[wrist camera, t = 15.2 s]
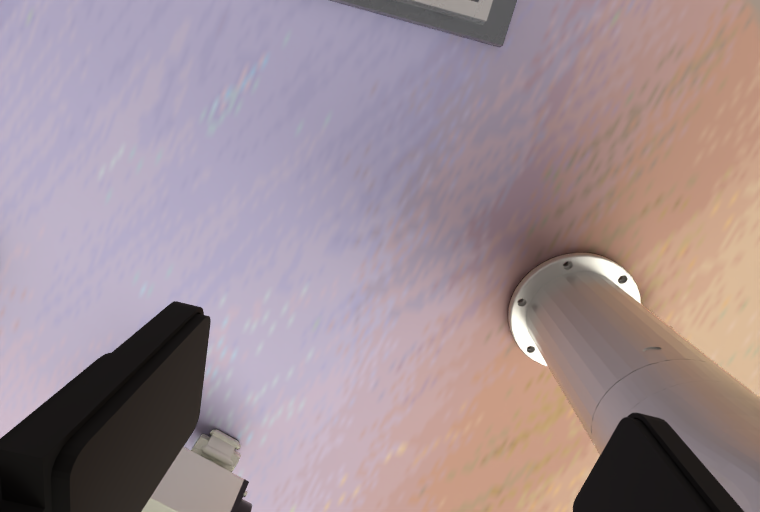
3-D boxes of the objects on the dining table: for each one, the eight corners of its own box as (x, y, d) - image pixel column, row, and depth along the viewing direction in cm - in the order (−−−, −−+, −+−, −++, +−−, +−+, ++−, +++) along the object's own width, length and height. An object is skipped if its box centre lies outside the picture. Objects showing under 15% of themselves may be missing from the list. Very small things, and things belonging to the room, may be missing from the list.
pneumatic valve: (187, 406, 47) (120, 498, 36) (272, 453, 49) (235, 555, 38) (167, 435, 49) (98, 532, 38) (251, 480, 51) (208, 586, 39)
